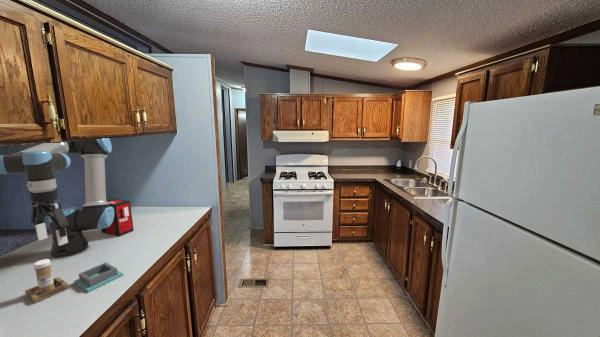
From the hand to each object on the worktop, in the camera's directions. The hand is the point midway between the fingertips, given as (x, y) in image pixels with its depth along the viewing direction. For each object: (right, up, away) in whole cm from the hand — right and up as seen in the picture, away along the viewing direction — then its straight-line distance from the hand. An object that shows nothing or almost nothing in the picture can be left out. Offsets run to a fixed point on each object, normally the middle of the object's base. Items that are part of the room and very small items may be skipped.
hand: (52, 241), depth 98 cm
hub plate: (+11, -20, +10) cm, 24 cm away
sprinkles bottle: (-4, -21, +2) cm, 22 cm away
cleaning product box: (-17, -11, +58) cm, 61 cm away
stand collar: (-4, -21, +2) cm, 21 cm away
